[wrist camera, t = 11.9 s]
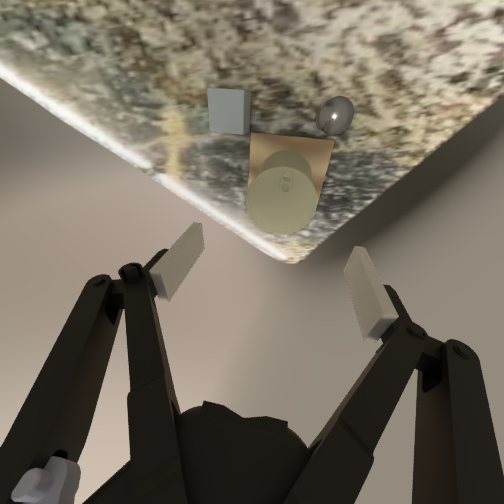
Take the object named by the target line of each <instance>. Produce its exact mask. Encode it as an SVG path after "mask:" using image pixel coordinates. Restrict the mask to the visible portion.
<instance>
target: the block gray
mask: <svg viewBox="0 0 504 504" xmlns="http://www.w3.org/2000/svg"><path fill="white" fill-rule="evenodd" d="M207 94H208V110H209V125H210V132H216V133H228V134H240V135H244V134H246V133H248V132H250V108H251V92H248V91H246V90H237V89H219V88H207Z"/></svg>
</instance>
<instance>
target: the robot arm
mask: <svg viewBox="0 0 504 504" xmlns="http://www.w3.org/2000/svg"><path fill="white" fill-rule="evenodd" d="M203 250H204V240H203V230H202V224H201V223H195V222H194V223H193V224H192V225H191V226H190V227H189V228H188V229H187V230H186V231H185V232H184V233H183V235H182V236H181V237H180V238H179V239H178V240H177V241H176V242H175V243H174V244H173V245H172V247H171V248H170V249H163V250H161V251H159V252H158V253H157V254H156V255H155V256H154V257H153V258H152V259H151V261H149V262H148V263H147V264H146V265H145V266H144V267H143V268H142V265H141V264H139V263H129V264H126V265H124V266H122V267H121V268H120V269H119V271H118V273H119V275H120V278H121V279H119V280H112V279H111V277H110V276H109V275H105V274H101V275H97V276H95V277H93V278H91V279H90V280H89V281H88V282H87V283H86V285H85V287H84V289H83V290H82V292H81V294H80V296H79V298H78V300H77V302H76V304H75V306H74V308H73V310H72V312H71V313H70V315H69V317H68V319H67V321H66V323H65V325H64V327H63V329H62V331H61V333H60V335H59V337H58V338H57V341H56V342H55V344H54V346H53V348H52V350H51V352H50V354H49V356H48V358H47V360H46V362H45V363H44V365H43V367H42V369H41V371H40V373H39V375H38V377H37V379H36V381H35V383H34V385H33V387H32V388H31V390H30V393H29V394H28V396H27V398H26V400H25V402H24V404H23V406H22V408H21V410H20V412H19V413H18V415H17V417H16V419H15V421H14V423H13V425H12V427H11V429H10V431H9V433H8V435H7V437H6V438H5V441H4V442H3V444H2V446H1V447H0V504H74V497H75V494H76V492H77V490H78V487H79V480H80V475H81V471H80V467H79V465H78V464H77V462H78V460H79V457H80V455H81V452H82V450H83V448H84V445H85V442H86V439H87V436H88V433H89V430H90V426H91V423H92V419H93V416H94V412H95V408H96V405H97V401H98V398H99V394H100V390H101V386H102V383H103V380H104V376H105V373H106V369H107V365H108V362H109V358H110V354H111V351H112V347H113V344H114V340H115V337H116V333H117V329H118V326H119V322H120V319H121V315H122V311H123V309H125V321H126V334H127V348H128V361H129V375H130V392H129V393H128V396H127V408H128V425H129V442H130V460H129V461H128V462H127V463H126V464H125V465H124V466H123V467H122V468H121V469H120V470H118V471H117V472H116V473H115V474H114V475H113V476H112V477H111V478H110V479H109V480H108V481H107V482H105V483H104V484H103V485H102V486H101V487H100V488H99V489H98V490H97V491H96V492H94V493H93V494H92V495H91V496H90V497H89V498H88V499H87V500H86V501H85V502H84V503H82V504H354V503H355V501H356V499H357V497H358V494H359V492H360V490H361V488H362V486H363V484H364V482H365V480H366V478H367V476H368V473H369V471H370V469H371V467H372V465H373V462H374V456H373V452H374V449H375V447H376V445H377V443H378V441H379V439H380V437H381V435H382V433H383V431H384V429H385V427H386V425H387V423H388V421H389V419H390V417H391V415H392V413H393V411H394V409H395V407H396V405H397V403H398V401H399V399H400V397H401V395H402V392H403V391H404V389H405V387H406V385H407V383H408V380H409V379H410V376H411V375H412V373H413V371H414V369H417V370H418V378H417V400H416V402H417V403H416V422H415V445H414V467H413V489H412V504H504V475H503V470H502V465H501V461H500V456H499V451H498V446H497V442H496V437H495V433H494V427H493V423H492V418H491V413H490V408H489V403H488V399H487V394H486V389H485V384H484V380H483V375H482V370H481V365H480V360H479V358H478V356H477V354H476V353H475V352H474V351H473V350H472V349H471V348H470V347H469V346H467V345H466V344H464V343H462V342H460V341H458V340H454V339H450V340H447V341H446V342H445V343H443V342H441V341H439V340H437V339H434V338H432V337H430V336H428V335H427V333H426V331H425V330H424V329H423V328H422V327H420V326H419V325H417V324H416V323H414V322H412V320H411V318H410V317H409V315H408V313H407V311H406V309H405V307H404V305H403V304H402V302H401V300H400V299H399V296H398V295H397V293H396V291H395V290H394V289H393V288H392V287H391V286H390V285H384V284H383V283H382V281H381V279H380V277H379V275H378V274H377V272H376V269H375V268H374V266H373V263H372V261H371V259H370V257H369V255H368V253H367V251H366V249H365V248H364V247H358V246H355V247H354V249H353V252H352V254H351V256H350V258H349V260H348V262H347V265H346V267H345V269H344V275H345V278H346V282H347V285H348V288H349V292H350V295H351V298H352V302H353V306H354V309H355V312H356V316H357V319H358V323H359V326H360V330H361V333H362V337H363V340H365V341H370V342H375V343H376V342H377V341H378V340H379V339H380V338H381V339H382V342H383V344H382V345H381V347H380V348H379V349H378V350H377V351H376V354H375V355H374V357H373V358H372V359H371V361H370V362H369V364H368V365H367V367H366V368H365V369H364V371H363V372H362V374H361V375H360V377H359V378H358V379H357V381H356V382H355V384H354V385H353V387H352V388H351V389H350V391H349V392H348V394H347V395H346V397H345V398H344V399H343V401H342V402H341V404H340V405H339V407H338V408H337V409H336V411H335V412H334V414H333V415H332V417H331V418H330V419H329V421H328V422H327V424H326V425H325V427H324V428H323V430H322V431H321V432H320V433H319V435H318V436H317V437H316V439H315V440H314V441H313V442H312V444H311V445H310V447H309V448H307V446H306V445H305V443H304V442H303V441H302V440H301V438H299V436H298V435H297V434H296V433H295V432H293V431H292V430H291V429H289V428H288V422H287V421H284V420H280V419H276V418H272V417H267V416H263V417H251V418H243V417H241V416H239V415H238V414H236V413H235V412H233V411H231V410H230V409H228V408H227V407H225V406H224V405H220V404H216V403H212V402H208V401H204V402H203V405H202V406H197V407H193V408H191V409H188V410H187V411H185V412H183V413H182V414H181V412H180V409H179V405H178V401H177V398H176V394H175V390H174V385H173V381H172V376H171V372H170V367H169V363H168V358H167V354H166V349H165V345H164V340H163V336H162V332H161V327H160V323H159V318H158V313H157V309H156V304H155V300H154V298H155V297H156V295H158V298H159V300H163V301H168V302H169V301H170V300H171V298H172V297H173V295H174V294H175V292H176V291H177V289H178V288H179V286H180V285H181V283H182V282H183V280H184V278H185V277H186V276H187V274H188V272H189V271H190V269H191V268H192V266H193V265H194V264H195V262H196V260H197V259H198V257H199V256H200V254H201V253H202V251H203Z"/></svg>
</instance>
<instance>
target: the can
mask: <svg viewBox="0 0 504 504" xmlns="http://www.w3.org/2000/svg"><path fill="white" fill-rule="evenodd" d="M316 206H317V193H316V189H315V187H314V185H313V181H312V171H311V167H310V165H309V163H308V161H307V160H306V159H305V157H304V156H302V155H301V154H299V153H297V152H295V151H291V150H281V151H278V152H275V153H273V154H272V155H270V156H269V157H268V158H267V159H266V160H265V161H264V162H263V164H262V166H261V168H260V171H259V172H258V174H257V176H256V177H255V178H254V179H253V181H252V182H251V184H250V185H249V187H248V190H247V193H246V208H247V212H248V214H249V216H250V218H251V220H252V221H253V222H254V223H255V224H256V225H257V226H258V227H259V228H261V229H262V230H264V231H266V232H269V233H272V234H279V235H283V234H290V233H293V232H296V231H298V230H300V229H301V228H303V227H304V226H305V225H306V224H307V223H308V222H309V221H310V220H311V218H312V217H313V215H314V213H315V210H316Z"/></svg>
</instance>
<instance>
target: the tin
mask: <svg viewBox="0 0 504 504" xmlns="http://www.w3.org/2000/svg"><path fill="white" fill-rule="evenodd" d="M353 115H354V108H353V104H352V102H351V101H350V100H349V99H348V98H346V97H344V96H337V97H334V98H331V99H328V100H326V101H324V102H323V103H322V104H321V105H320V106H319V108H318V110H317V112H316V124H317V126H318V128H319V129H321V130H322V131H323V132H324V133H326V134H328V135H338V134H340V133H342V132H343V131H345V130H346V129H347V128H348V126H349V125H350V123H351V121H352V119H353Z"/></svg>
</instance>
